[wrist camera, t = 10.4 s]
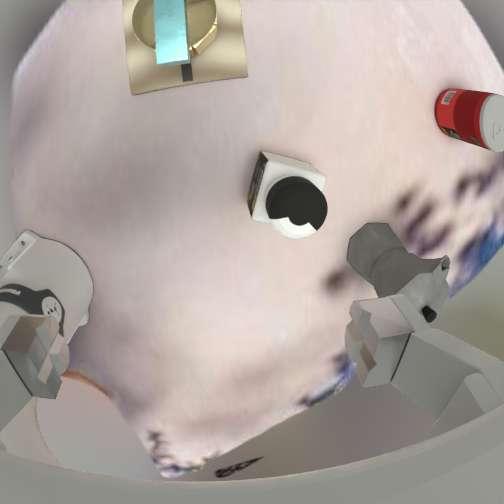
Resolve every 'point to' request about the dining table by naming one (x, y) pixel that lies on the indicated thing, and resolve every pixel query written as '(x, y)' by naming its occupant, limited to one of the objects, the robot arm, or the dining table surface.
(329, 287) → the dining table surface
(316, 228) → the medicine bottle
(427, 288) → the coffeepot
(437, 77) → the dining table surface
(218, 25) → the square recessed plate
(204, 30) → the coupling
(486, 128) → the canned food
